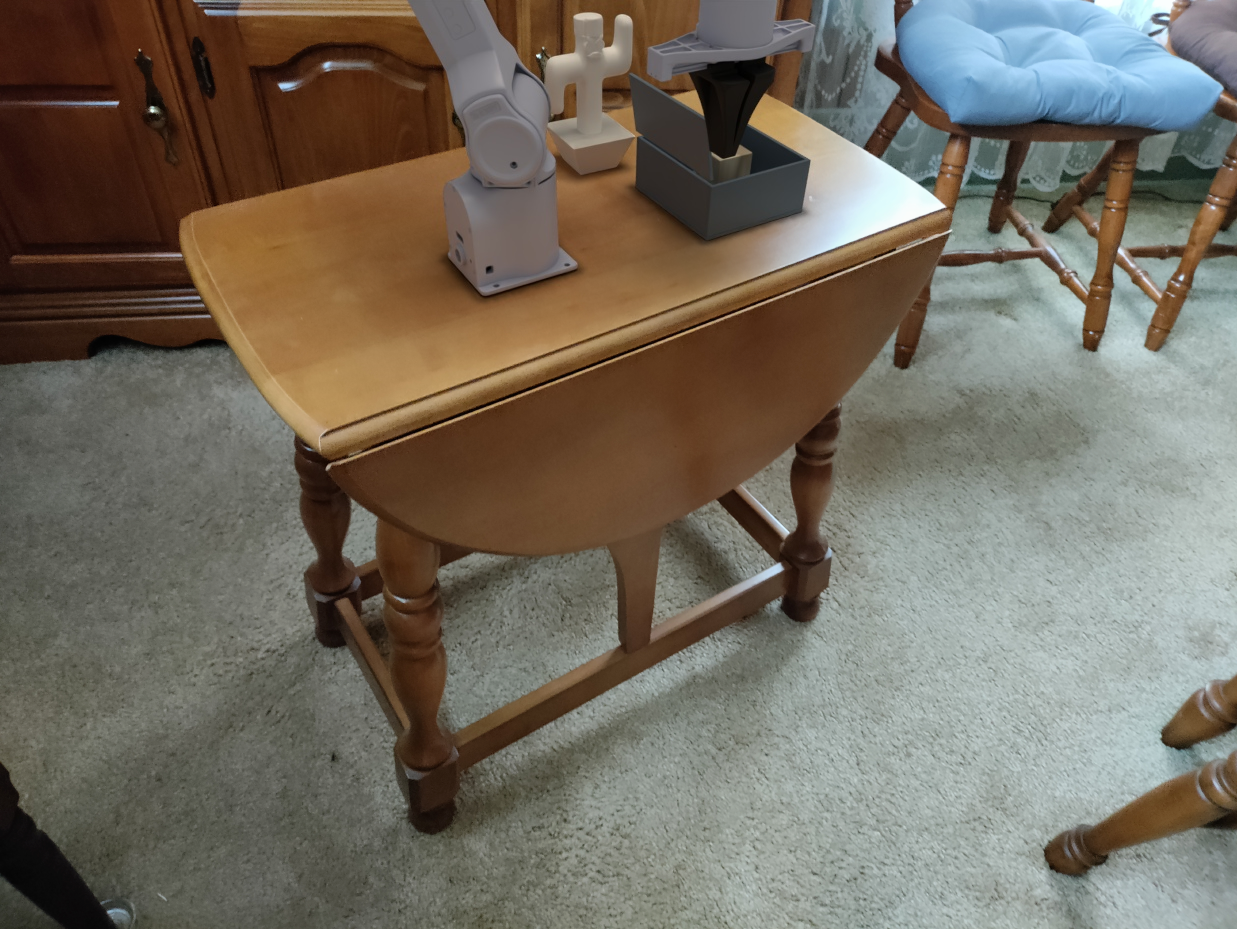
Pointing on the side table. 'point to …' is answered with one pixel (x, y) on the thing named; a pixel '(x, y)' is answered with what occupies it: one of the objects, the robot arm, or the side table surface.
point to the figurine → (590, 94)
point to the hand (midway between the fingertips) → (722, 153)
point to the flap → (671, 126)
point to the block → (730, 166)
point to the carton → (725, 186)
